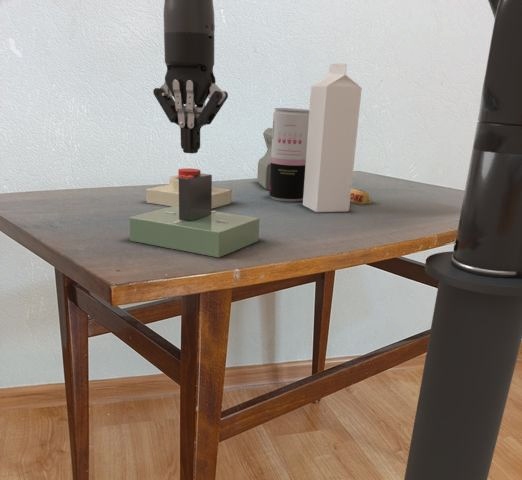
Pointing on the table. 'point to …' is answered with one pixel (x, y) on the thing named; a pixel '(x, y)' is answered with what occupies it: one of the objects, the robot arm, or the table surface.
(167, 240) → the green flat block
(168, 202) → the base
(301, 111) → the beverage can
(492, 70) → the robot arm
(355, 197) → the chocolate bar
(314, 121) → the milk
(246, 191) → the table surface
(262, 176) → the grey irregular figure
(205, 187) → the dark grey square slab
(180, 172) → the power button
